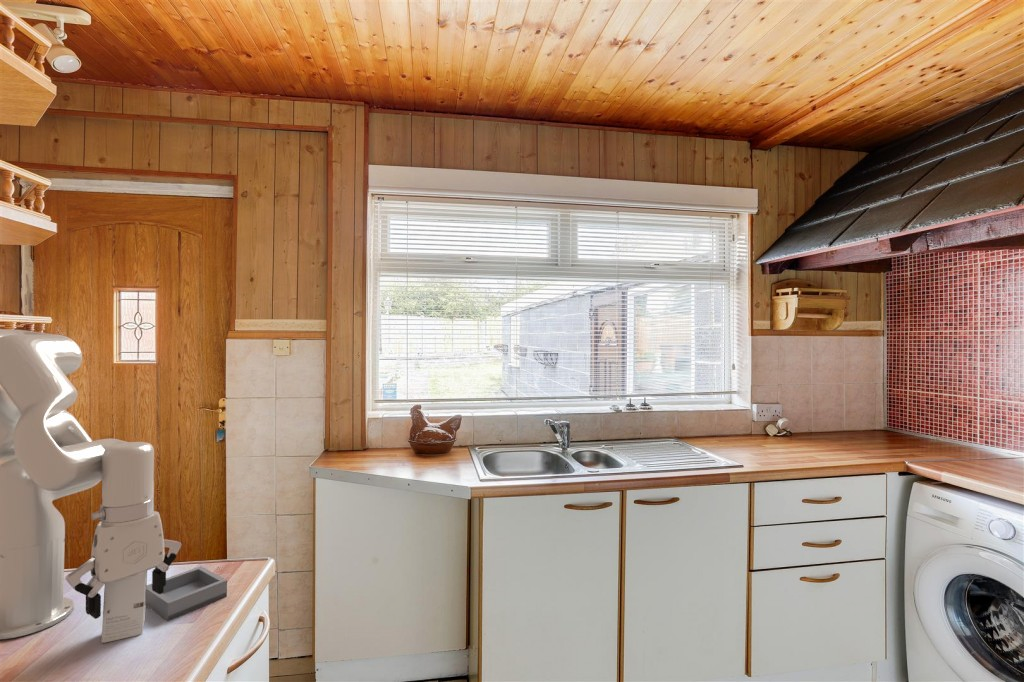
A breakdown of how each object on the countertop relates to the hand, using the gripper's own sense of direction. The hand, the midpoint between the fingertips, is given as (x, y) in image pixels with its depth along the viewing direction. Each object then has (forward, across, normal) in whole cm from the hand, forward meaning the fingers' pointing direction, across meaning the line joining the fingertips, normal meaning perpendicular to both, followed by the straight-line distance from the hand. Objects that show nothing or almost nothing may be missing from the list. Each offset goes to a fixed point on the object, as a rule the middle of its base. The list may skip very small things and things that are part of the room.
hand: (127, 603), depth 89 cm
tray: (+6, +11, +4) cm, 13 cm away
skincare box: (+6, 0, 0) cm, 6 cm away
